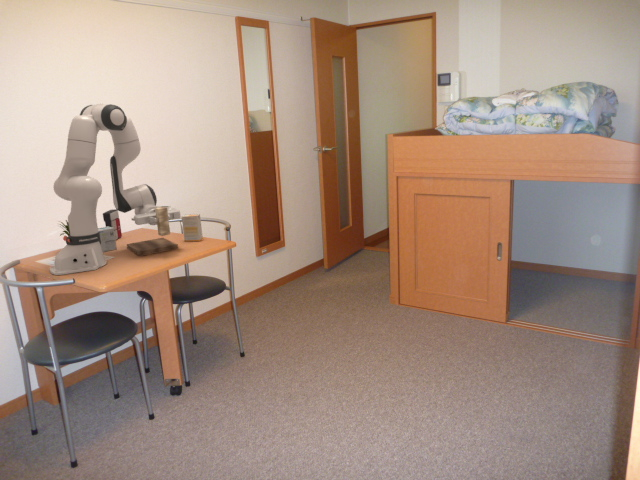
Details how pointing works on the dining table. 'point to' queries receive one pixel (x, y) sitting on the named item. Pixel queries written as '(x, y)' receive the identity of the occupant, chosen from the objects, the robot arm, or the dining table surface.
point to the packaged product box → (113, 222)
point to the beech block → (162, 221)
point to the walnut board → (152, 246)
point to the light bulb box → (107, 238)
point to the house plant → (65, 228)
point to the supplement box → (192, 227)
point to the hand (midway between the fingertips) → (163, 219)
